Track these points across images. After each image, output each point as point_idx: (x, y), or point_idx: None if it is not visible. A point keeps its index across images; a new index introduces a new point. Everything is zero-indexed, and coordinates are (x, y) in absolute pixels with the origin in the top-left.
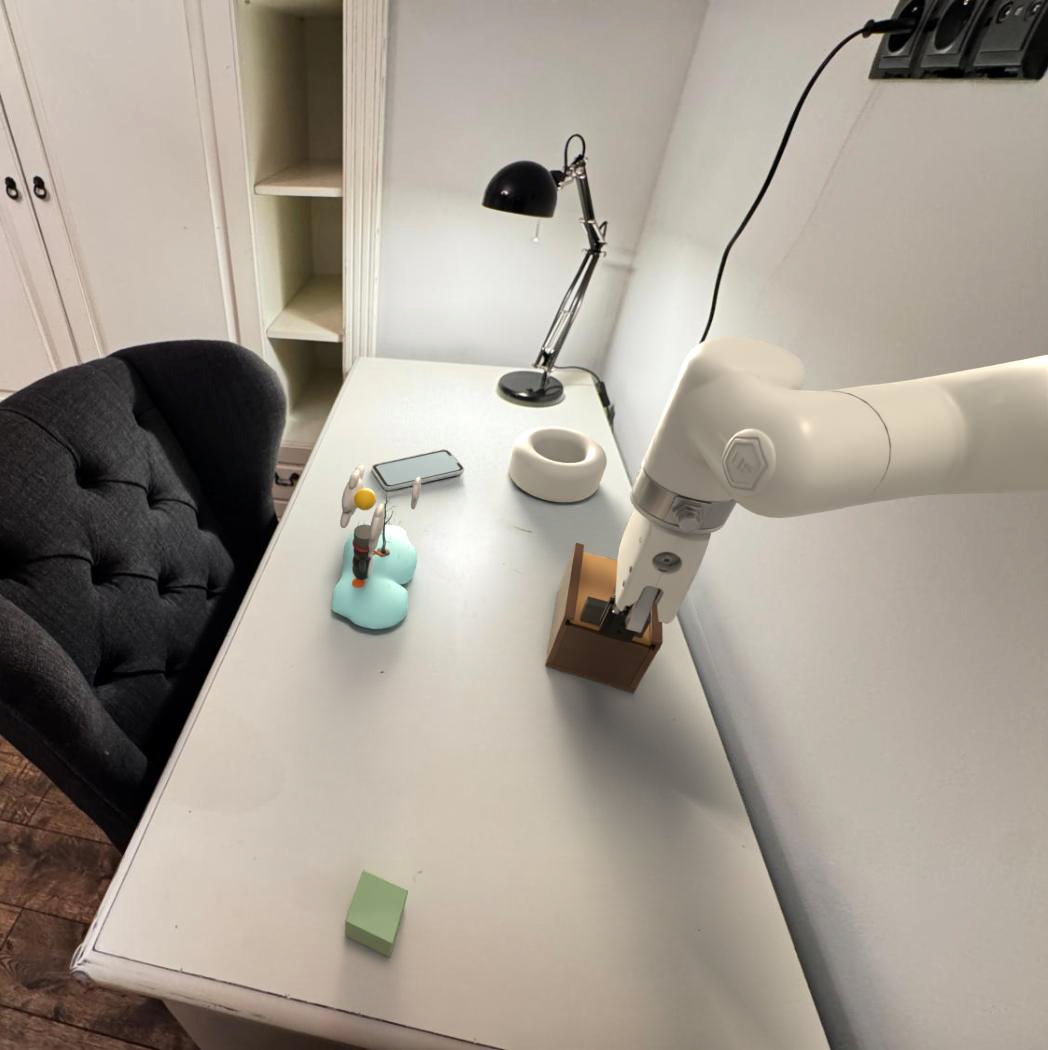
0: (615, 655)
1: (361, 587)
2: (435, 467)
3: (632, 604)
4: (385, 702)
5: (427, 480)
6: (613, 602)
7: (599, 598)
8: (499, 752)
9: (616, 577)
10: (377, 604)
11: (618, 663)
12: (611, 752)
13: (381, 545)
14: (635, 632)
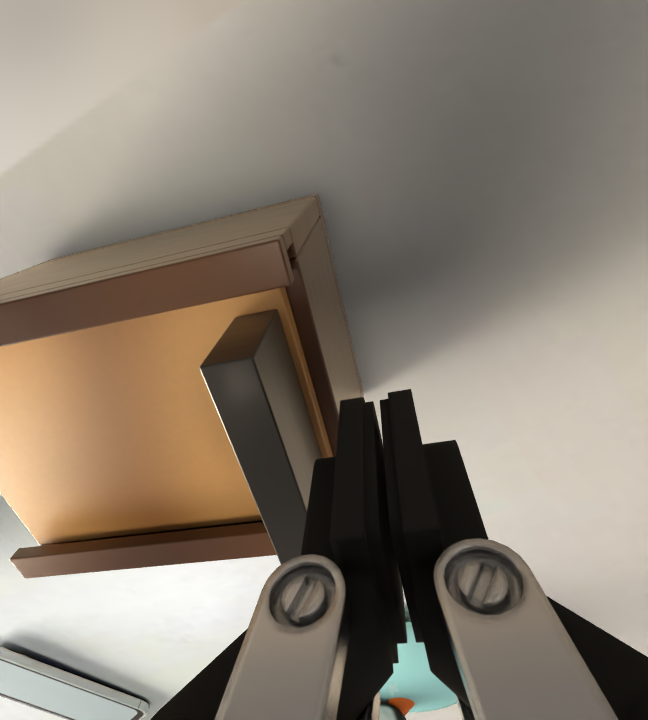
0: (327, 319)
1: (409, 698)
2: (29, 682)
3: (379, 603)
4: (597, 577)
5: (71, 677)
6: (397, 641)
7: (191, 464)
8: (634, 404)
9: (50, 442)
10: (431, 674)
11: (326, 291)
12: (535, 194)
13: None
14: (416, 425)
